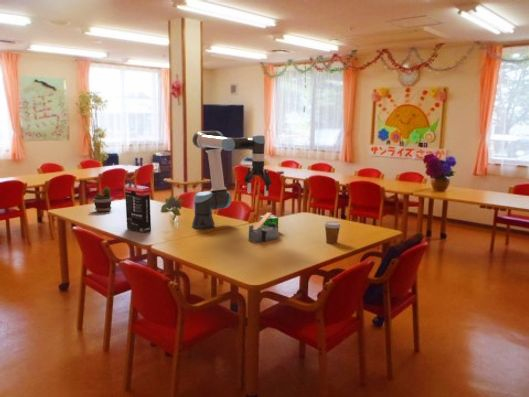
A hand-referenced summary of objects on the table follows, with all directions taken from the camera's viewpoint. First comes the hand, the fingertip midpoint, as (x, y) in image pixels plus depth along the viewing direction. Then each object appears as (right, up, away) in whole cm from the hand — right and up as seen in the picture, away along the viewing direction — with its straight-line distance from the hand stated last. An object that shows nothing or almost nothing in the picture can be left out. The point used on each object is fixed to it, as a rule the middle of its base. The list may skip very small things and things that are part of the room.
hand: (257, 194), depth 283 cm
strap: (+3, -17, -5) cm, 18 cm away
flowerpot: (-121, -13, +70) cm, 140 cm away
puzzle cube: (+7, -24, +14) cm, 29 cm away
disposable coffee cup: (+45, -29, -10) cm, 54 cm away
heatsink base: (+4, -27, -2) cm, 27 cm away
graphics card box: (-78, -23, +13) cm, 82 cm away
